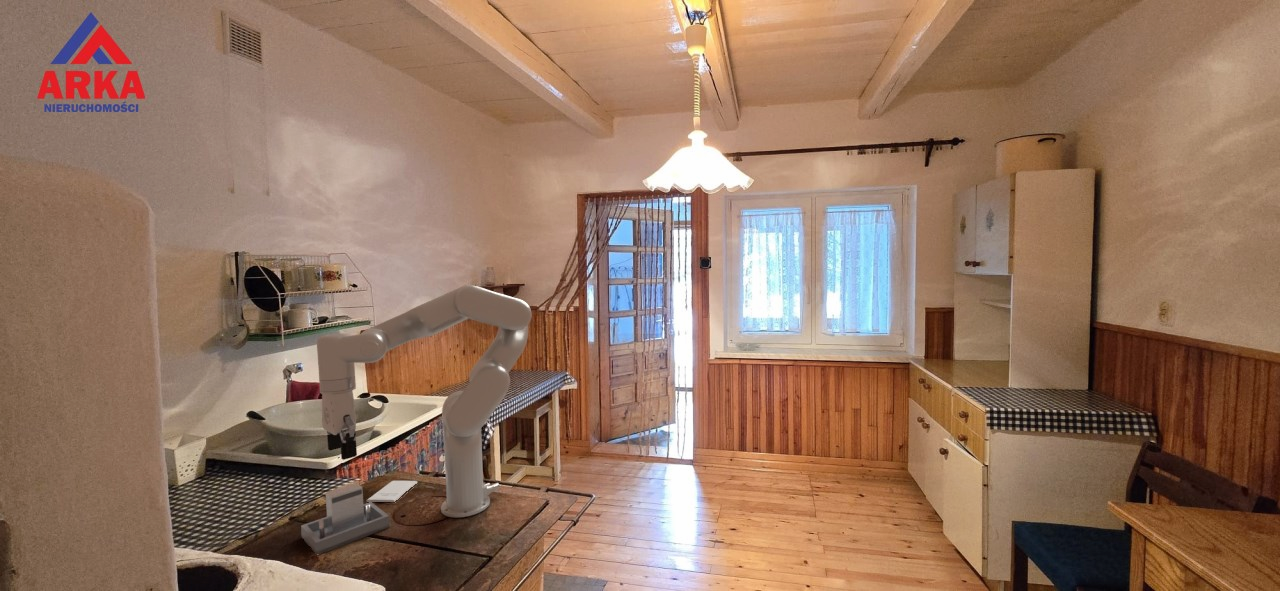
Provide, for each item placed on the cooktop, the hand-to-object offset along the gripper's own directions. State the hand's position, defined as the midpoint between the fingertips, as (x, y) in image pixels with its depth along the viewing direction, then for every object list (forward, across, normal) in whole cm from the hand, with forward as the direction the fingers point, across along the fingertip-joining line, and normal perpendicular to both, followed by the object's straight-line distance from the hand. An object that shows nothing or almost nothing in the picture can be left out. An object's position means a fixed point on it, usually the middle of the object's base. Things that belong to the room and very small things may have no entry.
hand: (342, 453), depth 123 cm
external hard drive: (+21, -14, +16) cm, 30 cm away
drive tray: (+20, 0, 0) cm, 20 cm away
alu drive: (+19, 0, 0) cm, 19 cm away
